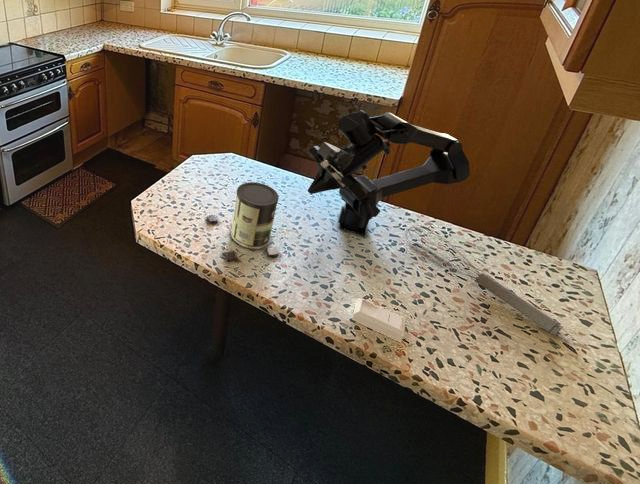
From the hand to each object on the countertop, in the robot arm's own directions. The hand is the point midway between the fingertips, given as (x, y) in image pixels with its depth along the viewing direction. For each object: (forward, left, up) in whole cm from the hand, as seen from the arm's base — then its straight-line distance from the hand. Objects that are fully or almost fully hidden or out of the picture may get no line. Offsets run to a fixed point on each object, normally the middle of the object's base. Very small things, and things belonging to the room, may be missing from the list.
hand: (309, 192), depth 104 cm
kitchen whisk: (-39, 0, -13) cm, 41 cm away
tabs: (+14, +10, -13) cm, 21 cm away
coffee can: (+12, +8, -13) cm, 20 cm away
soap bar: (-18, +23, -13) cm, 32 cm away
